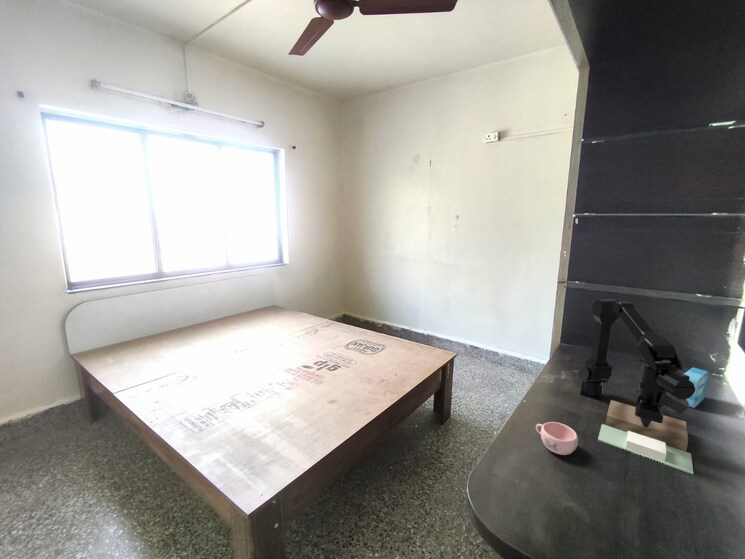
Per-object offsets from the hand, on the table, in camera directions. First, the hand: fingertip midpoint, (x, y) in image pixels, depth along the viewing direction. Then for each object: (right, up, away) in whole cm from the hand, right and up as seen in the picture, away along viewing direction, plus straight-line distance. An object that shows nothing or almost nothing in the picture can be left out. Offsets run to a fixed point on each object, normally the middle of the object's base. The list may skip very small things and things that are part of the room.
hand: (645, 426), depth 103 cm
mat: (-3, -5, -2) cm, 6 cm away
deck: (+5, -4, +6) cm, 8 cm away
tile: (-3, -3, -4) cm, 6 cm away
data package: (+35, 0, +22) cm, 41 cm away
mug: (-30, -6, -1) cm, 30 cm away
